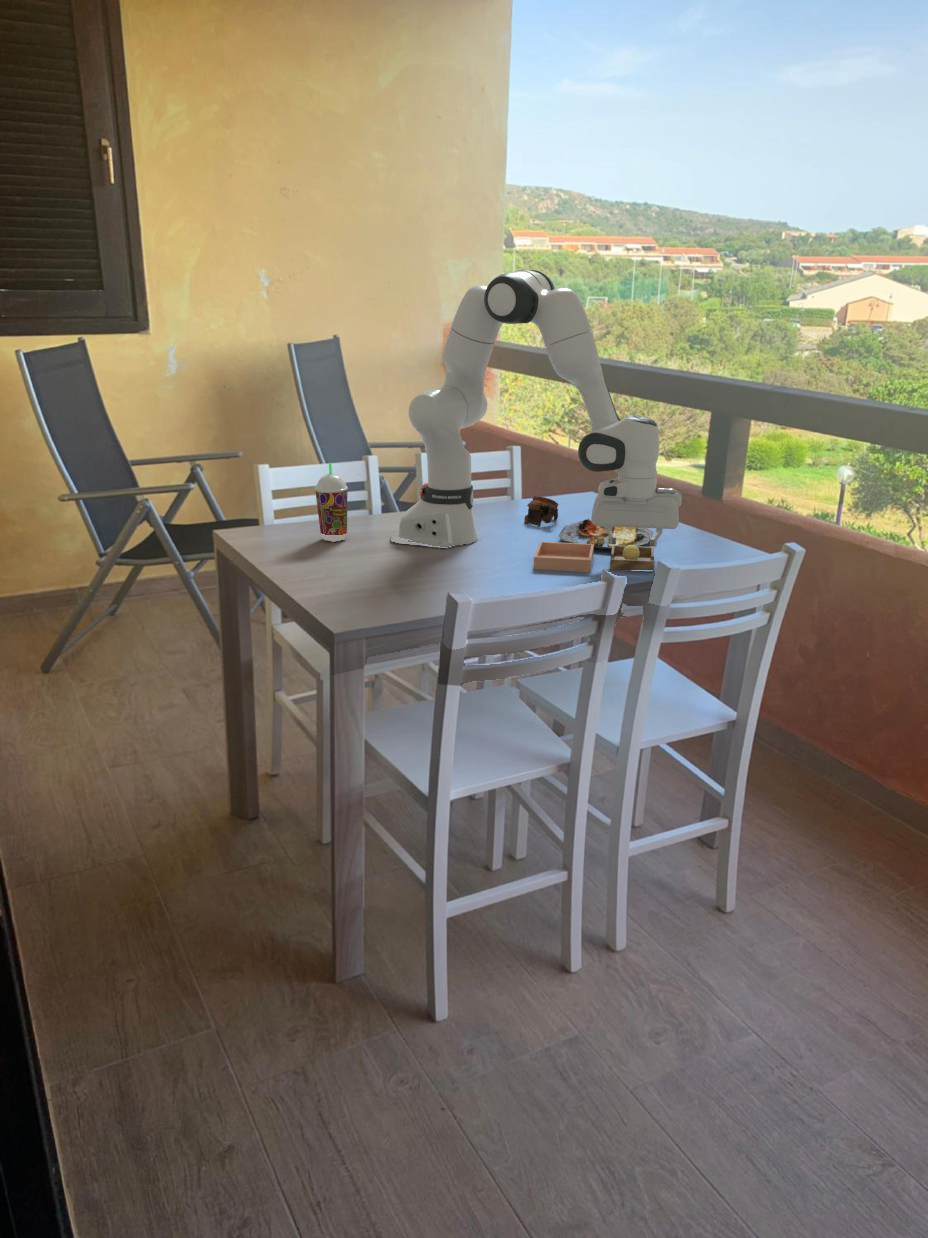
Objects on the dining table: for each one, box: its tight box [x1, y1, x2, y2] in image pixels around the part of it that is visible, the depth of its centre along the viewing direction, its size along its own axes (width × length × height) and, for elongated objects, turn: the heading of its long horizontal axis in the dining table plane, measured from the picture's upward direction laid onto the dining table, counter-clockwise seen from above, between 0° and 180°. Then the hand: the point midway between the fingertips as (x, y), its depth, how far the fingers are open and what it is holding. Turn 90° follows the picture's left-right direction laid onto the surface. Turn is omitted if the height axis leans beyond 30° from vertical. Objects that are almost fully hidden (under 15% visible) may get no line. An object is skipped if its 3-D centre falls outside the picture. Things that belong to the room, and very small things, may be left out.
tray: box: [609, 545, 655, 571], centre depth 218 cm, size 10×12×3 cm
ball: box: [623, 545, 640, 560], centre depth 217 cm, size 4×4×4 cm
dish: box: [533, 541, 595, 573], centre depth 218 cm, size 13×13×3 cm
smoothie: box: [314, 462, 349, 535], centre depth 235 cm, size 8×8×20 cm
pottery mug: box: [523, 496, 559, 527], centre depth 253 cm, size 12×10×8 cm
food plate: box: [558, 518, 654, 550], centre depth 237 cm, size 25×23×4 cm
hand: (632, 544), depth 216 cm, fingers open, 8 cm apart
